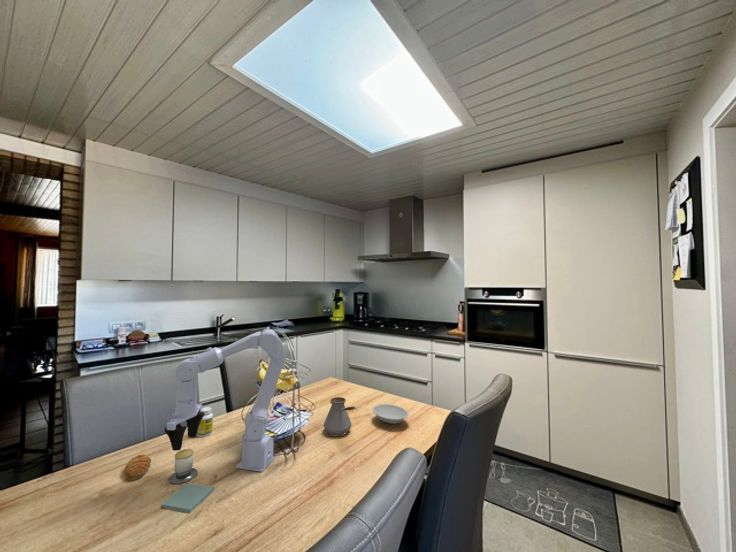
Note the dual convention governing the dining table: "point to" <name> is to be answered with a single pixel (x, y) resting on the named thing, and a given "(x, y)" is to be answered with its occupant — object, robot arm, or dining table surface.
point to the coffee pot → (338, 417)
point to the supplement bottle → (206, 423)
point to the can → (183, 460)
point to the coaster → (187, 497)
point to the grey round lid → (183, 476)
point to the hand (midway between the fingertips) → (184, 443)
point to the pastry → (137, 467)
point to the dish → (390, 413)
